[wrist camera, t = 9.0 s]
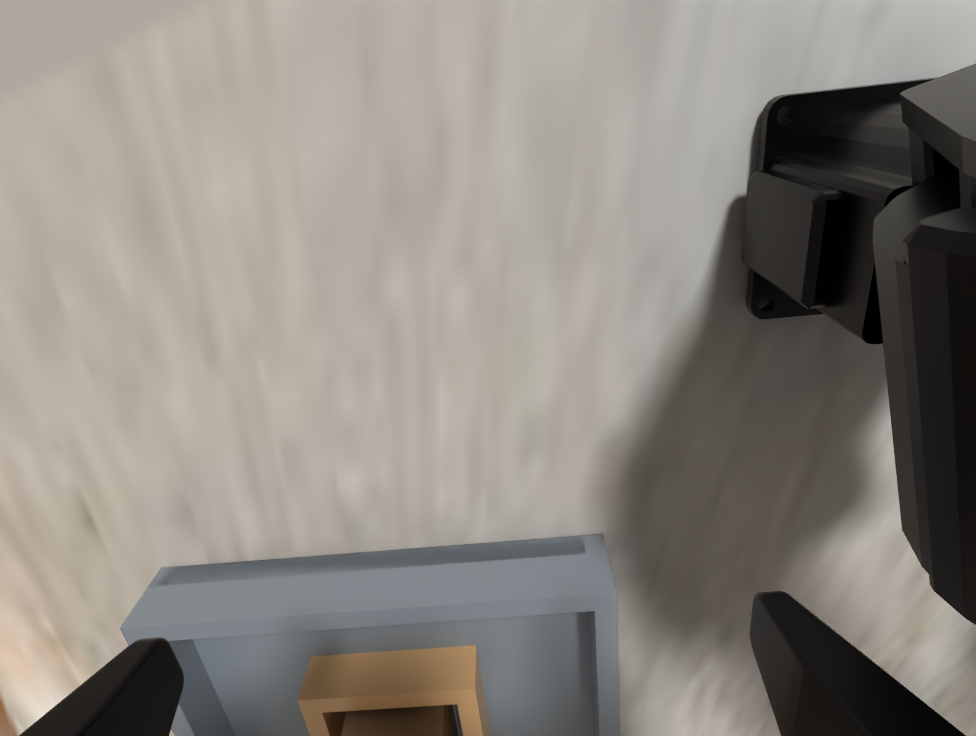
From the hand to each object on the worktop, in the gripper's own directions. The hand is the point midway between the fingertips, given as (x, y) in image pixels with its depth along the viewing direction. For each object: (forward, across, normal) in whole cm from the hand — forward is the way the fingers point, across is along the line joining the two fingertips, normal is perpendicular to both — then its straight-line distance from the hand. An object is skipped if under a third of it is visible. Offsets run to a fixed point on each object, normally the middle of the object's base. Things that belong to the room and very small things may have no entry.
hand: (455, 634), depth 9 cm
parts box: (+12, +5, +17) cm, 21 cm away
